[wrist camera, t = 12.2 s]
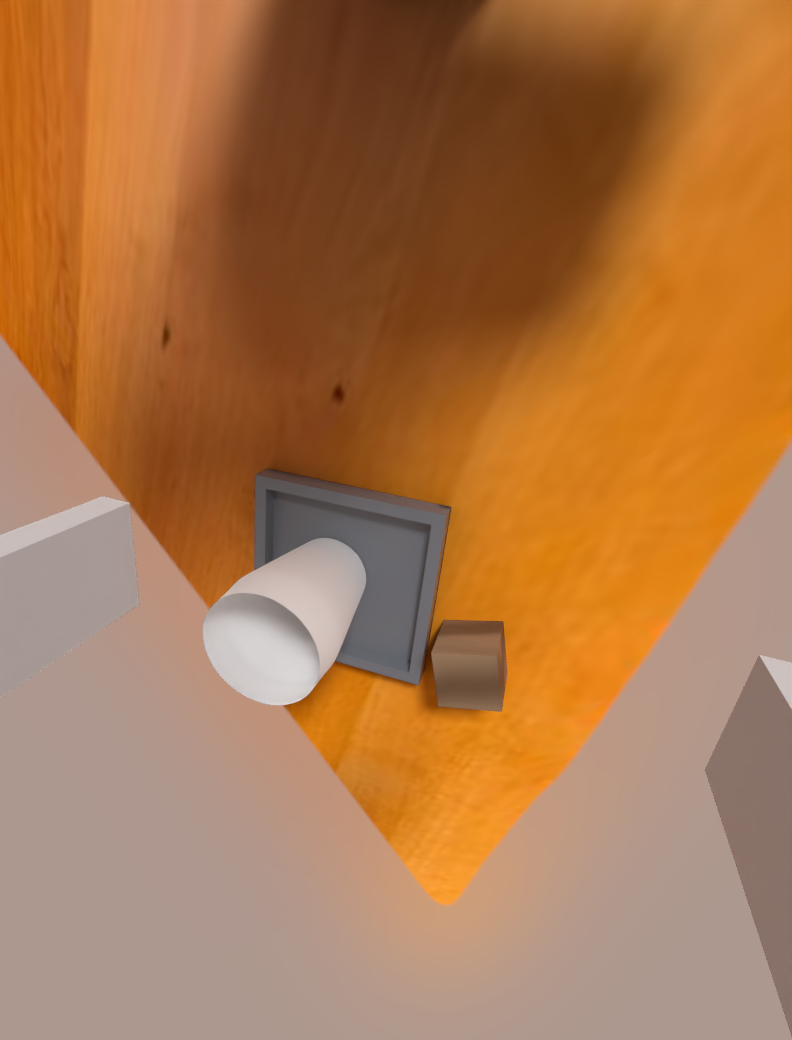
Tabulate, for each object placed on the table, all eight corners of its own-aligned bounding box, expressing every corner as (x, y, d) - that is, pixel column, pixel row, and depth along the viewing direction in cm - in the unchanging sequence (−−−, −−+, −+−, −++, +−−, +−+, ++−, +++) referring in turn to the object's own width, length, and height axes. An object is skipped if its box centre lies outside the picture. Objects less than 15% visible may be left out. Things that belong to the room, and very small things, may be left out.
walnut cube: (444, 619, 44) (431, 653, 40) (503, 621, 43) (496, 656, 38) (450, 668, 46) (438, 706, 41) (507, 672, 44) (501, 711, 40)
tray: (267, 468, 44) (255, 474, 42) (451, 507, 40) (446, 515, 38) (264, 625, 50) (254, 637, 48) (424, 671, 46) (418, 685, 45)
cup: (311, 627, 48) (239, 716, 37) (267, 541, 46) (177, 608, 35) (396, 604, 44) (345, 695, 33) (353, 510, 42) (283, 574, 31)
